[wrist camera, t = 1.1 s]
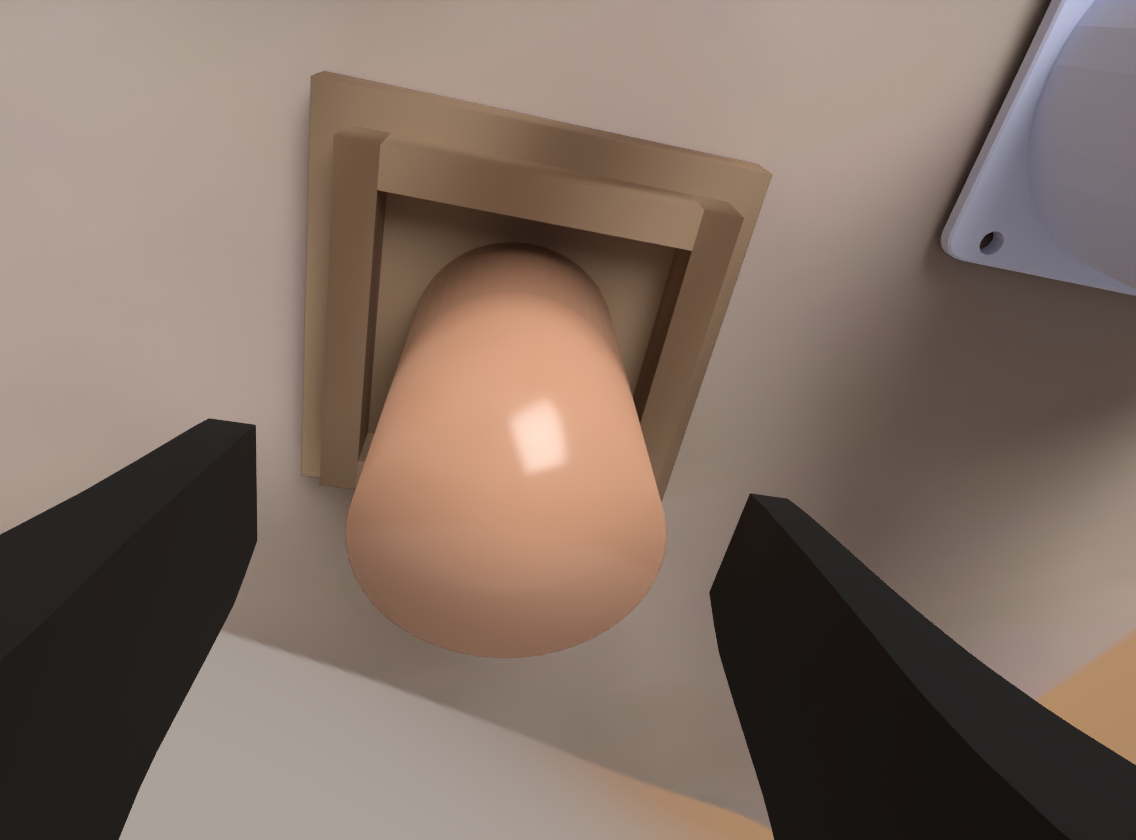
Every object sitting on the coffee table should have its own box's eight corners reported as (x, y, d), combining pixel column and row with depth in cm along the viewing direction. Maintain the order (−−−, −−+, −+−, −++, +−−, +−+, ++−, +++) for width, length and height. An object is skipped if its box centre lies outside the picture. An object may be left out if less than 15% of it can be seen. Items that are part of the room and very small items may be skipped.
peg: (633, 263, 15) (707, 438, 9) (588, 436, 17) (623, 670, 11) (425, 223, 14) (354, 384, 8) (404, 408, 17) (338, 642, 11)
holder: (758, 163, 15) (791, 188, 13) (649, 499, 20) (662, 552, 18) (324, 70, 14) (292, 82, 12) (311, 452, 18) (287, 505, 16)
